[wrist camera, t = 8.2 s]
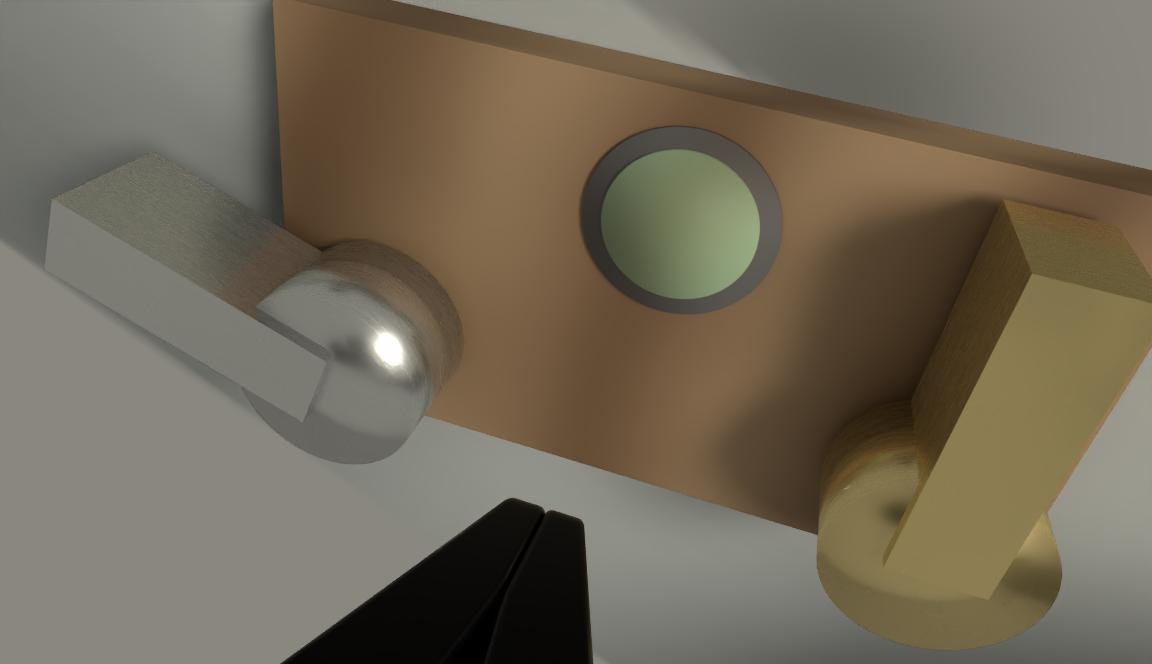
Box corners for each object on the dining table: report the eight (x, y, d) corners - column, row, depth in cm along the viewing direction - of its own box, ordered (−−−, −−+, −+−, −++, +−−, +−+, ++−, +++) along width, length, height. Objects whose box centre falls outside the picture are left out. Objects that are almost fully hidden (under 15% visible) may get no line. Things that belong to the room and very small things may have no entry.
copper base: (1203, 181, 15) (1239, 219, 13) (989, 541, 19) (999, 597, 18) (313, -17, 17) (266, -3, 16) (323, 343, 22) (287, 379, 21)
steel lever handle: (490, 305, 18) (436, 377, 16) (427, 426, 20) (371, 504, 18) (161, 108, 18) (56, 151, 15) (134, 252, 20) (40, 308, 18)
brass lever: (986, 577, 18) (1005, 689, 16) (797, 520, 18) (789, 620, 16) (1190, 242, 13) (1259, 330, 11) (934, 182, 14) (949, 253, 12)
